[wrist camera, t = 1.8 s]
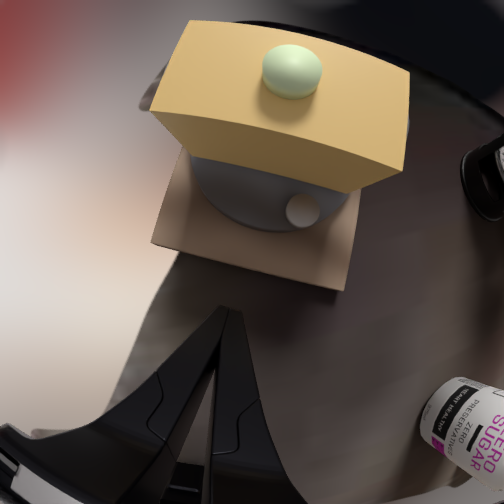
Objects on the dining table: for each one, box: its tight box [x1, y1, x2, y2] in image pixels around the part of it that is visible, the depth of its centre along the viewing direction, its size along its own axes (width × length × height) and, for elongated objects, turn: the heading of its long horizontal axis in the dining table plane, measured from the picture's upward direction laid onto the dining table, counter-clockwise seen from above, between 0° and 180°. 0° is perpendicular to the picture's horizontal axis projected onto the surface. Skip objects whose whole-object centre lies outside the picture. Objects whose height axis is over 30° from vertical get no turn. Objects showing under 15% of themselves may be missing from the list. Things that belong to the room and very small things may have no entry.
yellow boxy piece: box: [149, 20, 409, 194], centre depth 15 cm, size 6×13×10 cm, turn 76°
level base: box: [151, 147, 361, 291], centre depth 22 cm, size 20×16×4 cm
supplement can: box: [420, 377, 504, 491], centre depth 14 cm, size 8×8×15 cm
